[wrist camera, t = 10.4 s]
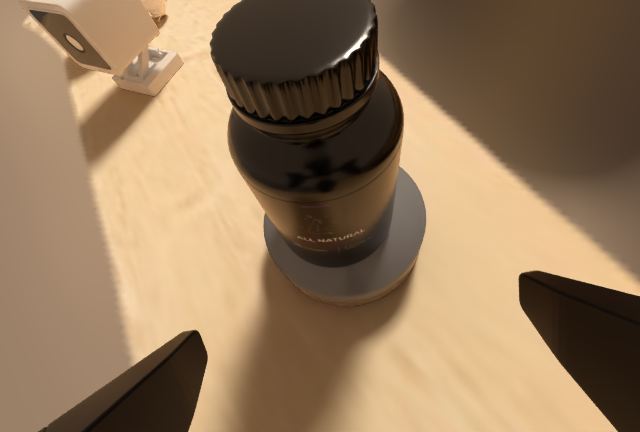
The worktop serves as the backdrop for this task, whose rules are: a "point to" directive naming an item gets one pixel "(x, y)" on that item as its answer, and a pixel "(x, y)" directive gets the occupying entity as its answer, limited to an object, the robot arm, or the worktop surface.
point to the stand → (371, 273)
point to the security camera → (108, 39)
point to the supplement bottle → (313, 122)
